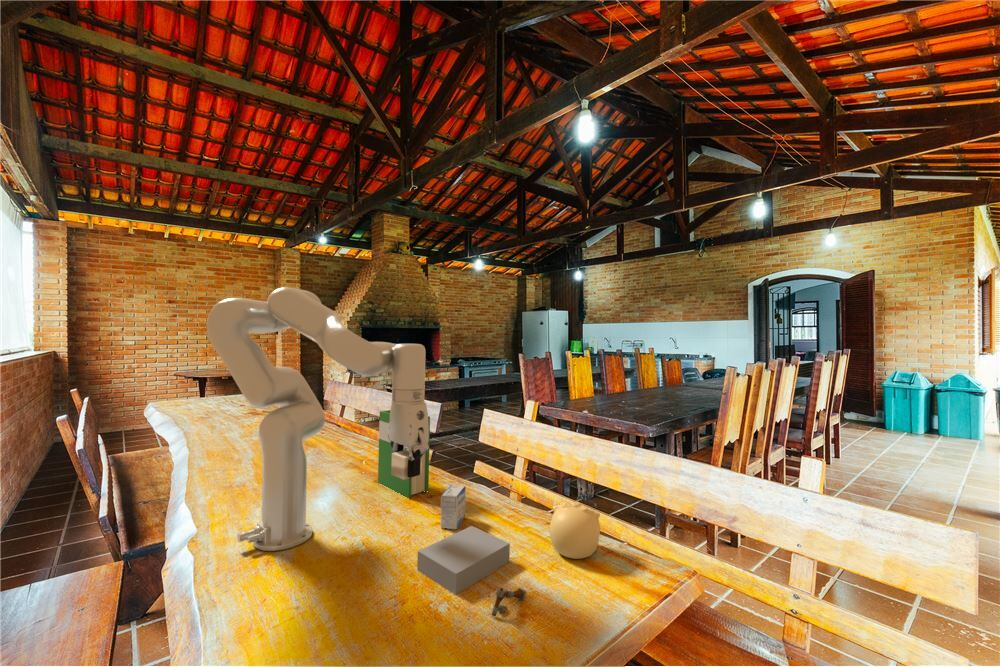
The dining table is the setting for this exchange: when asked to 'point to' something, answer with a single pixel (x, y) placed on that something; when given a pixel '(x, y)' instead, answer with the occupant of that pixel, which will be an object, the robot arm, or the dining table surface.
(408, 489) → the hardback book
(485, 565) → the stand
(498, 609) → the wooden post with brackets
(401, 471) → the wooden cube
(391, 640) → the dining table surface
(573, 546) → the sculpture
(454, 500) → the medicine box
